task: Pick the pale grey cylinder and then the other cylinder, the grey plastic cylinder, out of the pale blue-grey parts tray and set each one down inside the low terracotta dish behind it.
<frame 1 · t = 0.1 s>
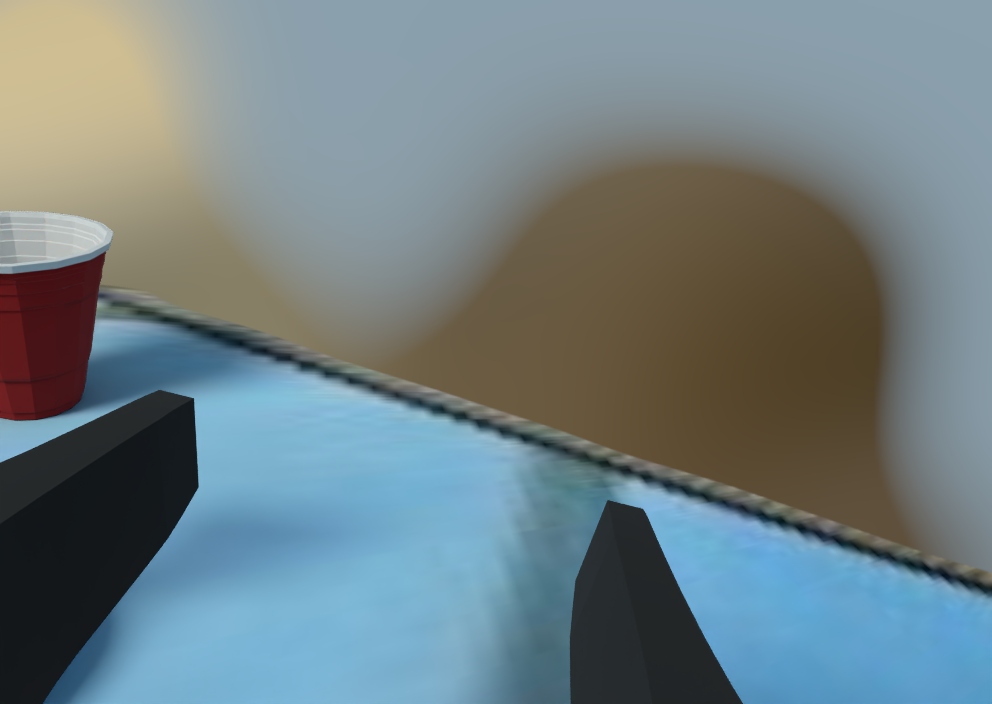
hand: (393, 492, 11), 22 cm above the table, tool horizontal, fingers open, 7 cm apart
plastic cup: (31, 398, 44), on the table
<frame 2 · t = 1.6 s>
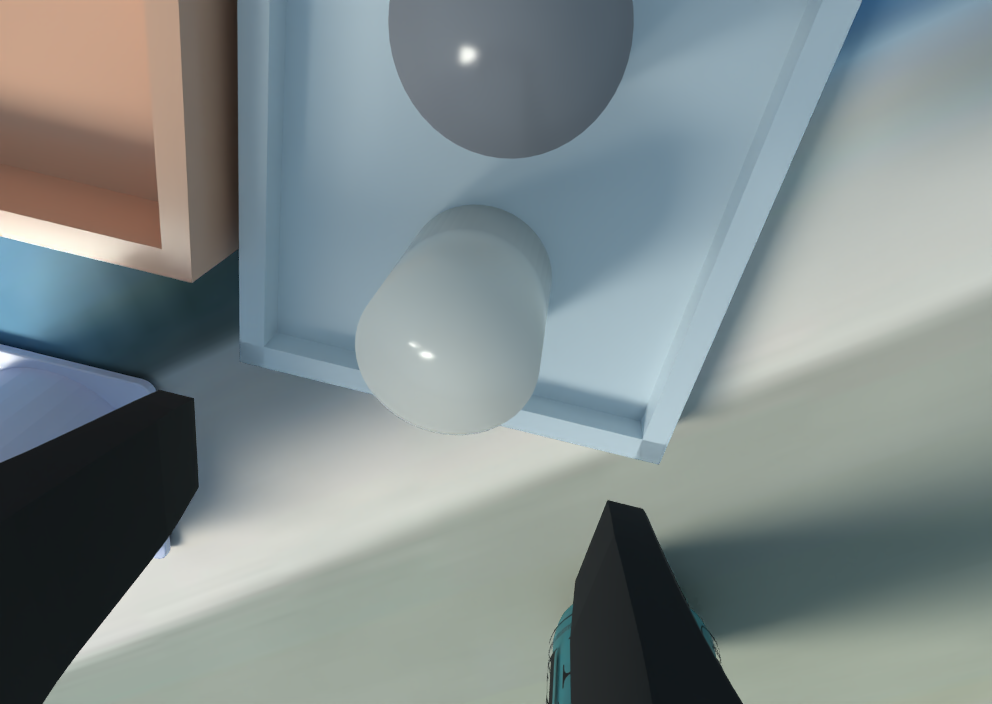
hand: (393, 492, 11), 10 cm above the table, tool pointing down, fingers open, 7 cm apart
beverage bottle: (630, 605, 27), on the table
pale grey cylinder: (478, 276, 19), point 1 cm above the table, touching parts tray
grey plastic cylinder: (531, 20, 16), point 1 cm above the table, touching parts tray
parts tray: (505, 154, 18), on the table
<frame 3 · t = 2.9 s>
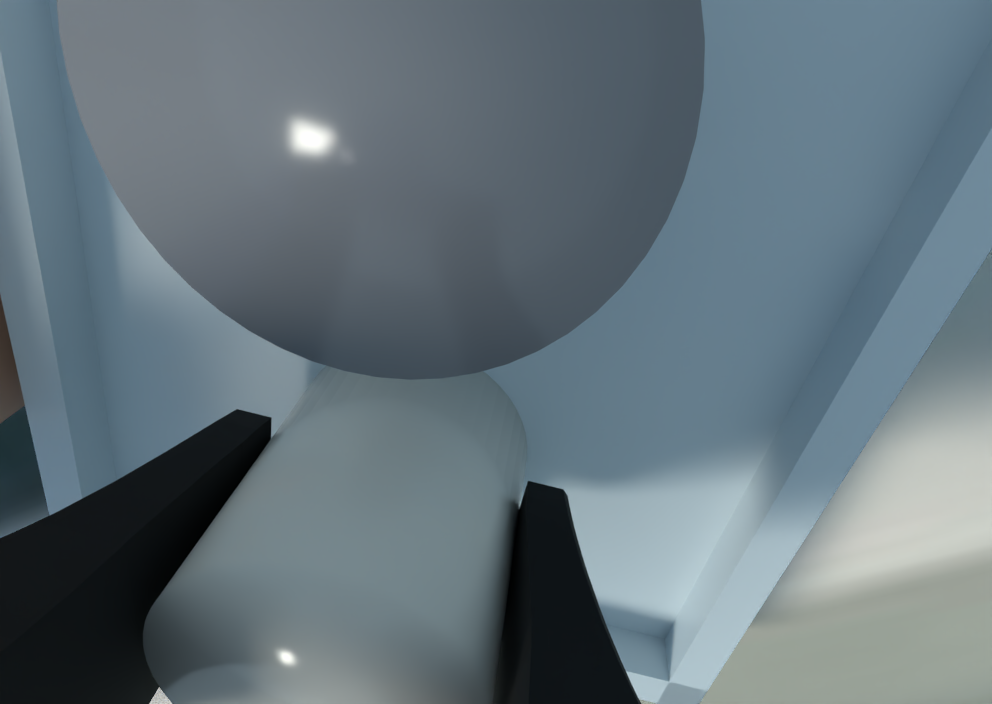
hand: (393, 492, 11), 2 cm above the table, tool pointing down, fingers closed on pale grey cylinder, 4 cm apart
pale grey cylinder: (412, 442, 12), point 1 cm above the table, touching gripper, parts tray
grey plastic cylinder: (480, 46, 9), point 1 cm above the table, touching parts tray
parts tray: (450, 260, 11), on the table
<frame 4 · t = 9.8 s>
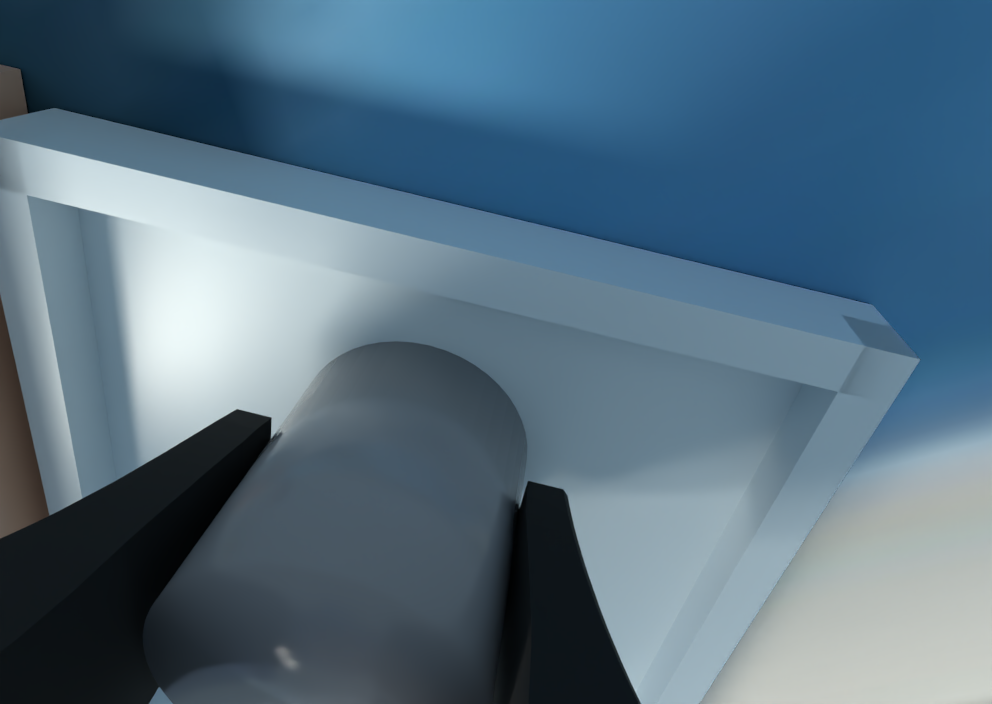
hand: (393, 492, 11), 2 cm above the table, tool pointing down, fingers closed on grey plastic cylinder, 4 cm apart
grey plastic cylinder: (412, 442, 12), point 1 cm above the table, touching gripper, parts tray
parts tray: (401, 537, 15), on the table
when the fingers open (4 cm above the table, at t = 13.2 s): grey plastic cylinder drops 2 cm, resting on terracotta dish.
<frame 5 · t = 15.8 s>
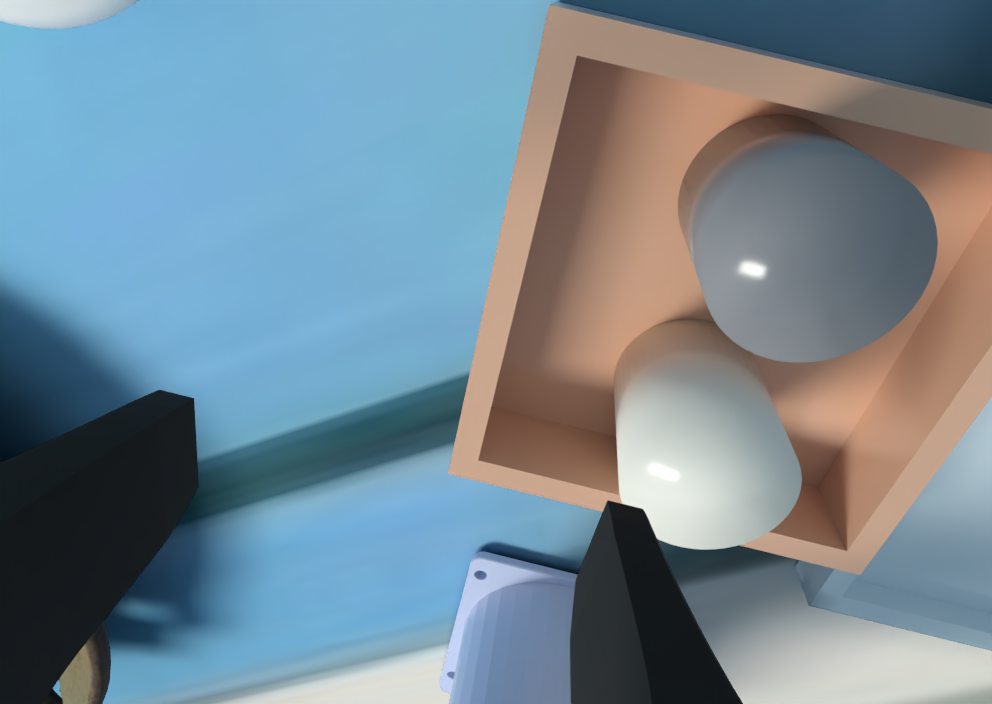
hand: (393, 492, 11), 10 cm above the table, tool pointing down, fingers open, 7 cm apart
pale grey cylinder: (683, 380, 20), point 1 cm above the table, touching terracotta dish
terracotta dish: (713, 290, 19), on the table
grey plastic cylinder: (761, 199, 17), point 1 cm above the table, touching terracotta dish
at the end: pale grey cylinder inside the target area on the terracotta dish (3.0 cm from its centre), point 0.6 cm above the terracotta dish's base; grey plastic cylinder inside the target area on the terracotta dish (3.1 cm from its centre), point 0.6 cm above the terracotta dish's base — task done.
